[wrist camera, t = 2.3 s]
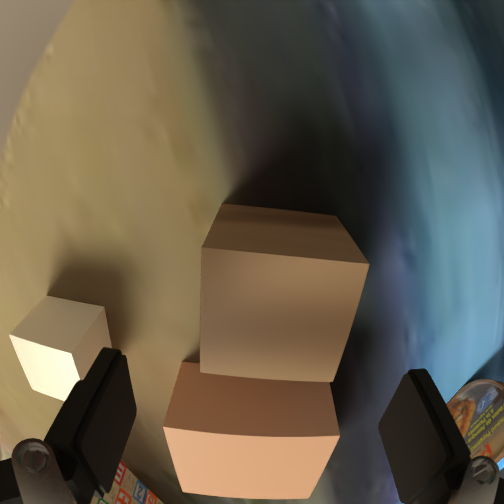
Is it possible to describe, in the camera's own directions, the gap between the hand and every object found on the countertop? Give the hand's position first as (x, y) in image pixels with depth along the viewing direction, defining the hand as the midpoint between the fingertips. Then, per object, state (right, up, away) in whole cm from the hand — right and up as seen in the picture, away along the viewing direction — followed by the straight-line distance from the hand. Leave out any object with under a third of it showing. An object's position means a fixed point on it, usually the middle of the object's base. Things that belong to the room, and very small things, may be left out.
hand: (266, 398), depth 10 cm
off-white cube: (-13, -1, +11) cm, 17 cm away
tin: (+18, -11, +14) cm, 26 cm away
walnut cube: (+1, +4, +8) cm, 9 cm away
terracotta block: (-1, -8, +13) cm, 16 cm away
